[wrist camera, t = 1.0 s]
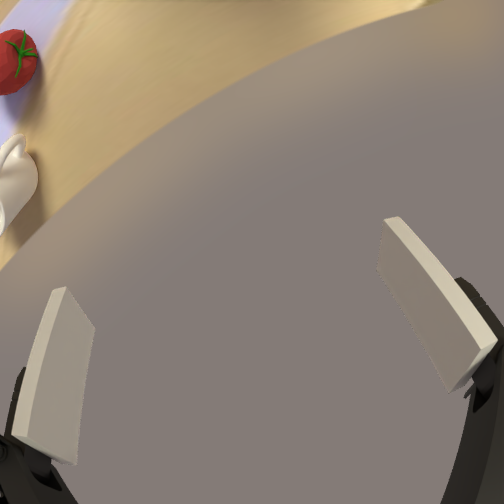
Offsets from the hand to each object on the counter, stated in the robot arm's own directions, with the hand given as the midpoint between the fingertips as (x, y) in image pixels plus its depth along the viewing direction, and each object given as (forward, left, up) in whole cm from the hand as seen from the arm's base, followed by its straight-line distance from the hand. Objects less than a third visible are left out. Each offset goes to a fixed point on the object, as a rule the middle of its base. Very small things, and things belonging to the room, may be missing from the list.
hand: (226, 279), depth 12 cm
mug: (-1, -25, -28) cm, 37 cm away
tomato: (-14, -20, -28) cm, 37 cm away
